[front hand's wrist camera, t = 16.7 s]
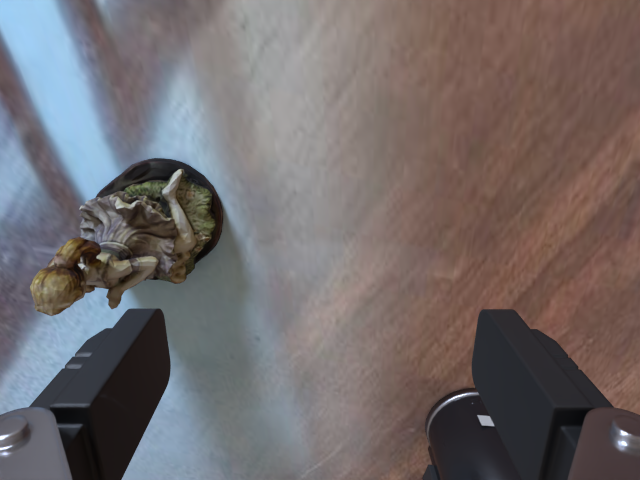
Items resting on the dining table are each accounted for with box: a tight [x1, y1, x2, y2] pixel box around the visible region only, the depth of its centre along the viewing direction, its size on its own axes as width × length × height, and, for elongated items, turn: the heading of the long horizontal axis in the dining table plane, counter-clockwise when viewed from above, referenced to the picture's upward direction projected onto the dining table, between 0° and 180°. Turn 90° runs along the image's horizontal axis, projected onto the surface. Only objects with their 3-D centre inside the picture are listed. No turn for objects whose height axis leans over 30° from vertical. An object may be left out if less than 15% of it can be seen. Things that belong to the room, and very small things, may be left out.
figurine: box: [30, 158, 223, 316], centre depth 32 cm, size 12×11×15 cm
